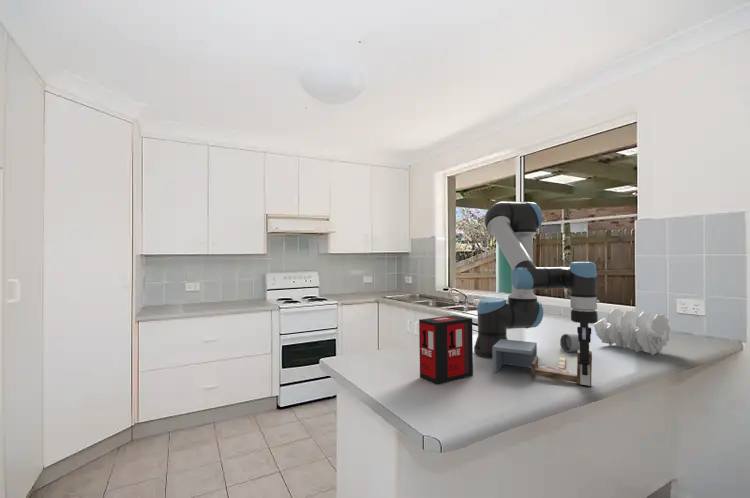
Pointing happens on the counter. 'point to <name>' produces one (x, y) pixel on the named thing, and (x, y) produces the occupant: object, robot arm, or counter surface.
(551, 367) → the soap bar
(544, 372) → the brown wooden bent piece
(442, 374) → the cleaning product box
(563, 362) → the stick
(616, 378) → the counter surface
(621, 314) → the spiral staircase
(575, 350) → the ceramic mug
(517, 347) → the grey storage bin
